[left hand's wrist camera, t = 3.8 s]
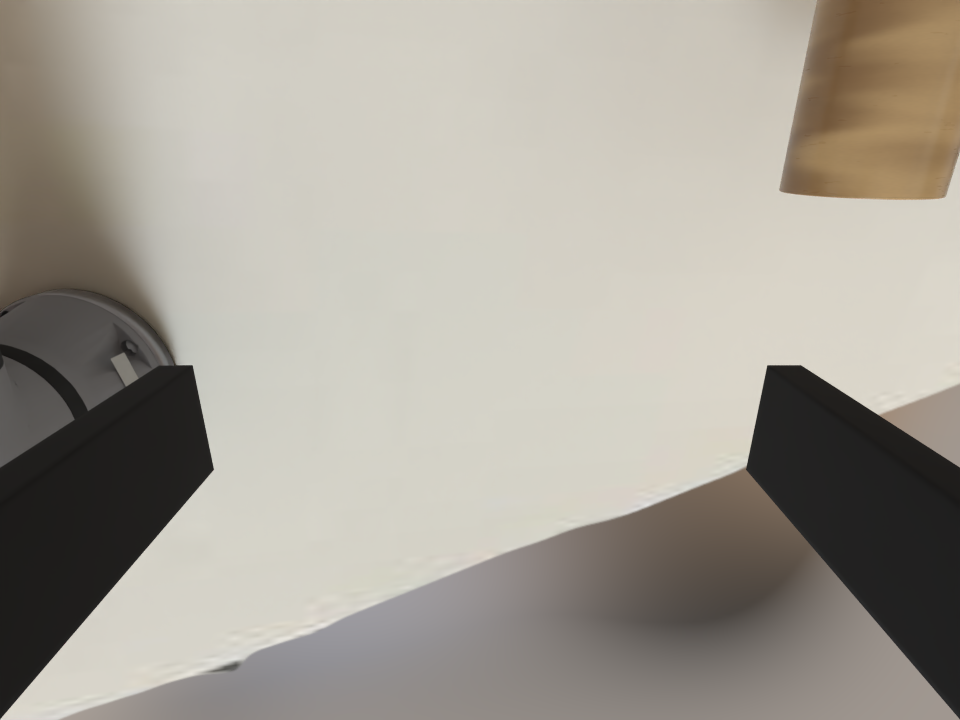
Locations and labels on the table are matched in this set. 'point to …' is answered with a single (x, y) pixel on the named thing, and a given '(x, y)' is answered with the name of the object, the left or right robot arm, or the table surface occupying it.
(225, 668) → the table surface
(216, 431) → the table surface
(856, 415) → the left robot arm
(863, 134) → the brown cylinder
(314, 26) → the table surface
